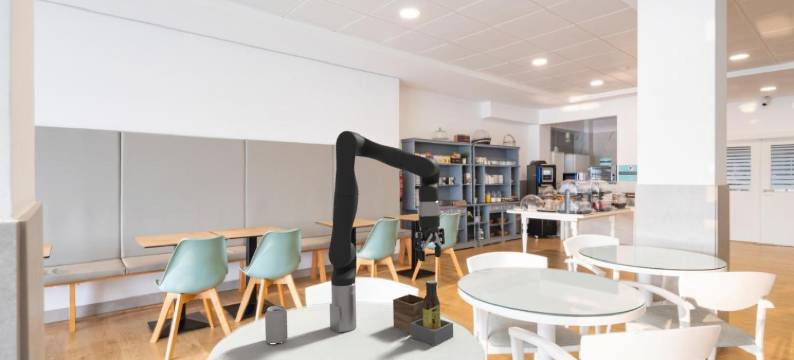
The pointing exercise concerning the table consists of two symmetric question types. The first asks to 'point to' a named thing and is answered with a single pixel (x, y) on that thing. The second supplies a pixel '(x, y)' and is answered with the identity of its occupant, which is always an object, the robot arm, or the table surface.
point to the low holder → (432, 332)
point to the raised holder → (407, 311)
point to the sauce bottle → (431, 306)
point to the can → (276, 324)
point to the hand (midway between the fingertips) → (430, 259)
